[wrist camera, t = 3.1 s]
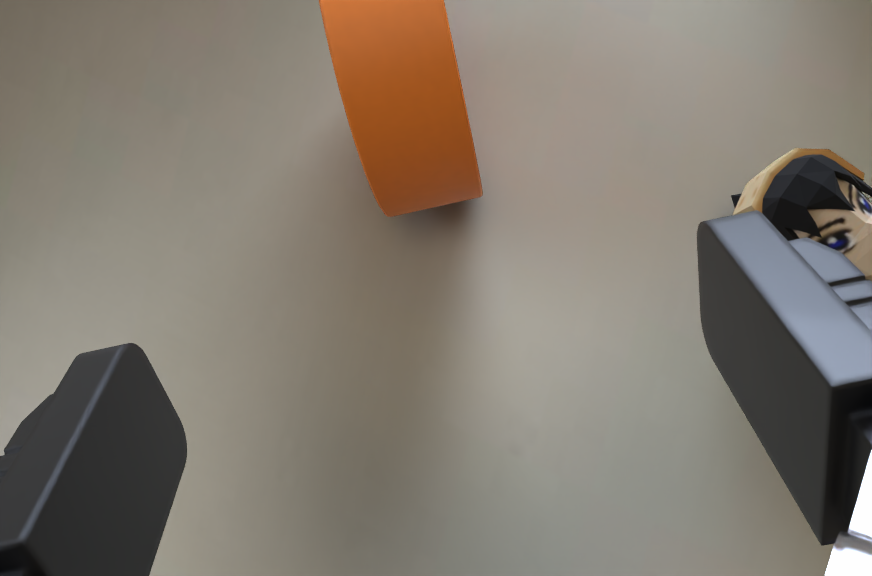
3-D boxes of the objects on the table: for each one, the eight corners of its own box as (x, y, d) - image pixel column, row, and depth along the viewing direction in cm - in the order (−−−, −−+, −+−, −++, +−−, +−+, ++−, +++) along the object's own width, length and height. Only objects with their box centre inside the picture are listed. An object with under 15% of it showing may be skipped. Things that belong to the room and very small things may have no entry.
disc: (363, 27, 29) (289, -166, 20) (441, 8, 29) (401, -195, 20) (405, 252, 27) (344, 149, 18) (489, 234, 27) (469, 120, 18)
